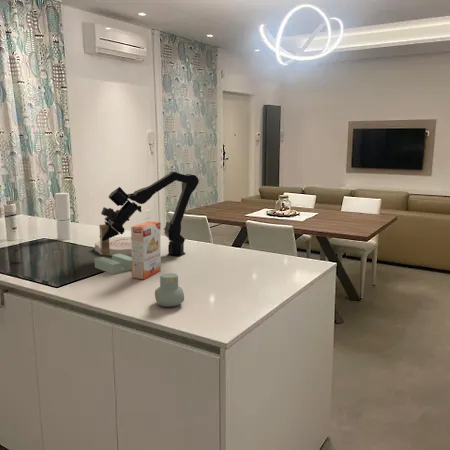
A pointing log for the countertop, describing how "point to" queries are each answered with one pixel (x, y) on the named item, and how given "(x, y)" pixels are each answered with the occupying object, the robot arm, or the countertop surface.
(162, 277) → the air freshener
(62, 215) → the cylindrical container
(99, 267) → the frame stand
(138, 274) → the cracker box
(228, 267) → the countertop surface
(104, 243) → the photo frame
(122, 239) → the decorative plaque
